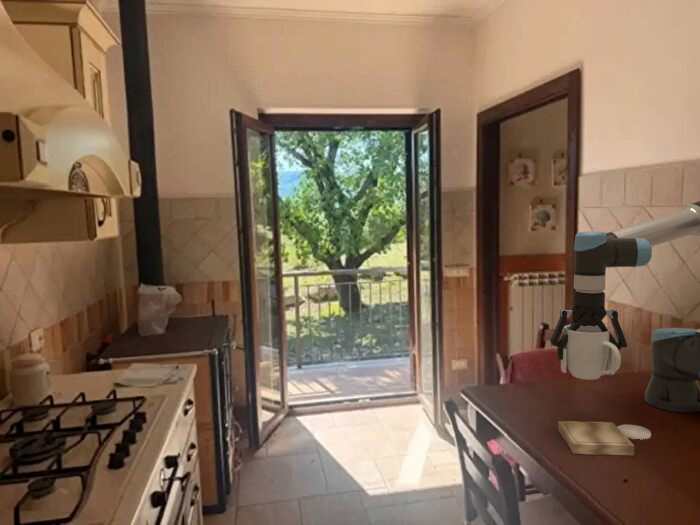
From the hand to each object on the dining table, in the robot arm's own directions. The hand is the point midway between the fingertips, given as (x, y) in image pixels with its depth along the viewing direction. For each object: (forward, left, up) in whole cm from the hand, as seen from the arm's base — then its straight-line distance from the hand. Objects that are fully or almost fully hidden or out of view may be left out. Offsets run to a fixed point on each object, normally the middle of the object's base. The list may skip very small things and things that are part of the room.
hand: (587, 372), depth 137 cm
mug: (-1, 0, -2) cm, 2 cm away
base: (0, +6, -17) cm, 18 cm away
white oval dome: (-12, 0, -17) cm, 21 cm away
